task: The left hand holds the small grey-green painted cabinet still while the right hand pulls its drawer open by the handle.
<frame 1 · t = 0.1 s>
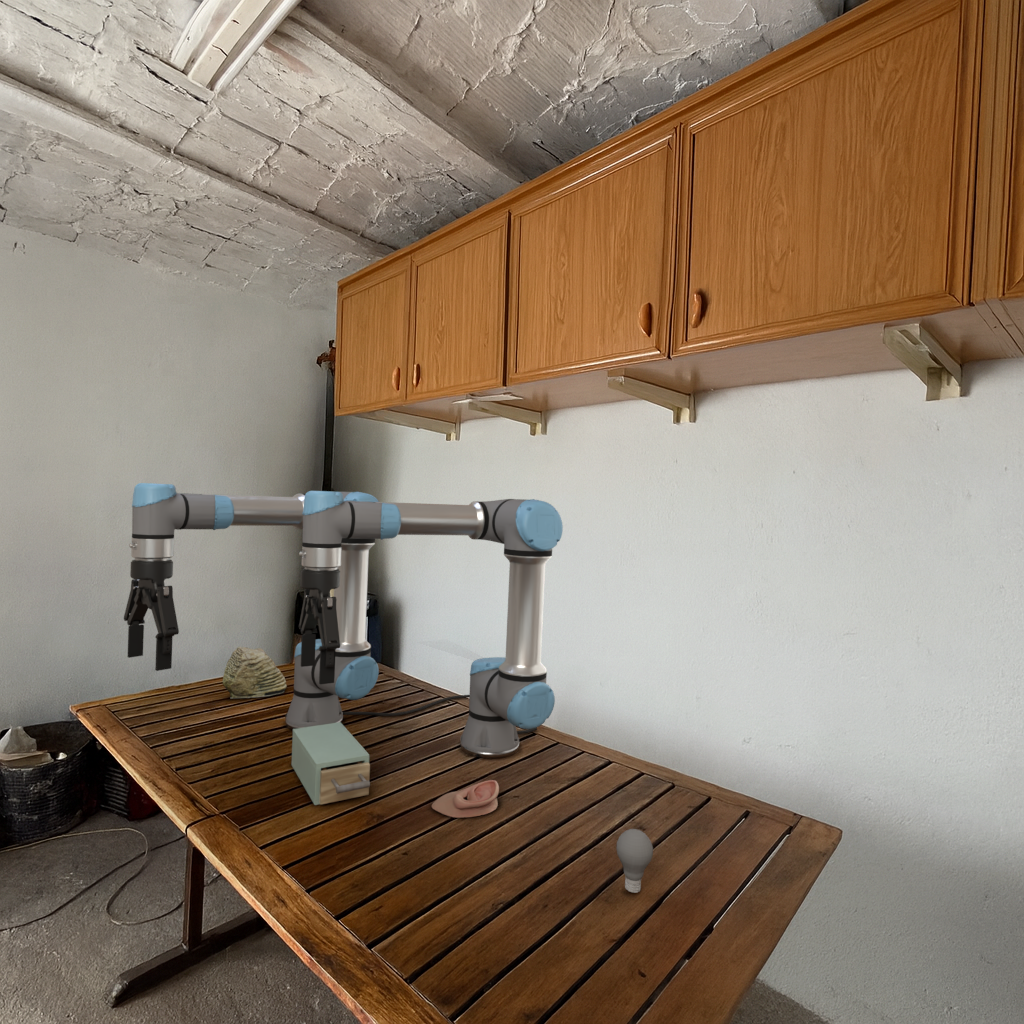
left hand: (148, 662, 129), 28 cm above the table, tool pointing down, fingers open, 13 cm apart
right hand: (316, 674, 127), 28 cm above the table, tool pointing down, fingers open, 13 cm apart
light bulb: (632, 891, 106), on the table
cabinet: (327, 779, 142), on the table
fossil: (254, 694, 198), on the table
anatomical model: (465, 806, 132), on the table
drawer: (335, 769, 137), point 4 cm above the table, slide at 1.1 cm
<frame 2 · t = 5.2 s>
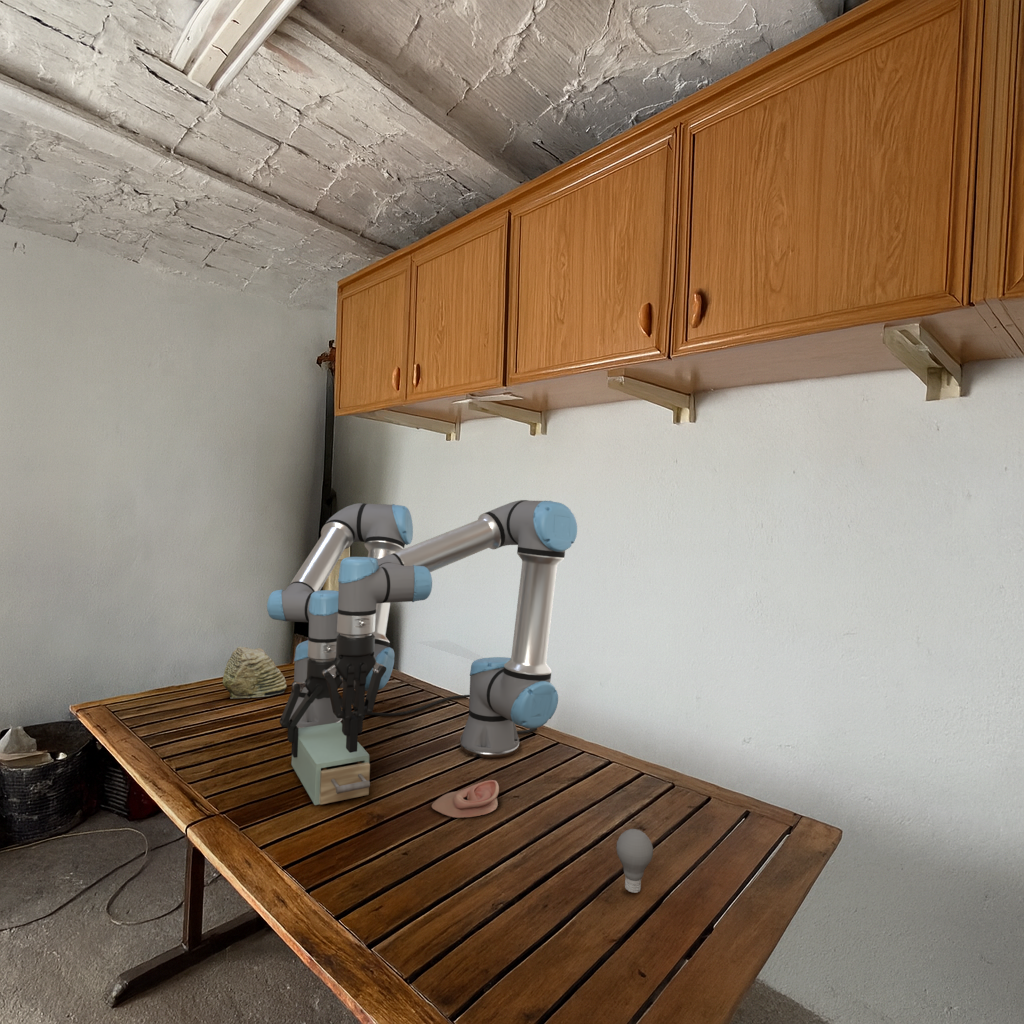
left hand: (320, 750, 148), 4 cm above the table, tool pointing down, fingers closed on cabinet, 11 cm apart
right hand: (351, 749, 128), 12 cm above the table, tool pointing down, fingers closed
cabinet: (327, 779, 142), on the table, touching left hand
everything else where it was.
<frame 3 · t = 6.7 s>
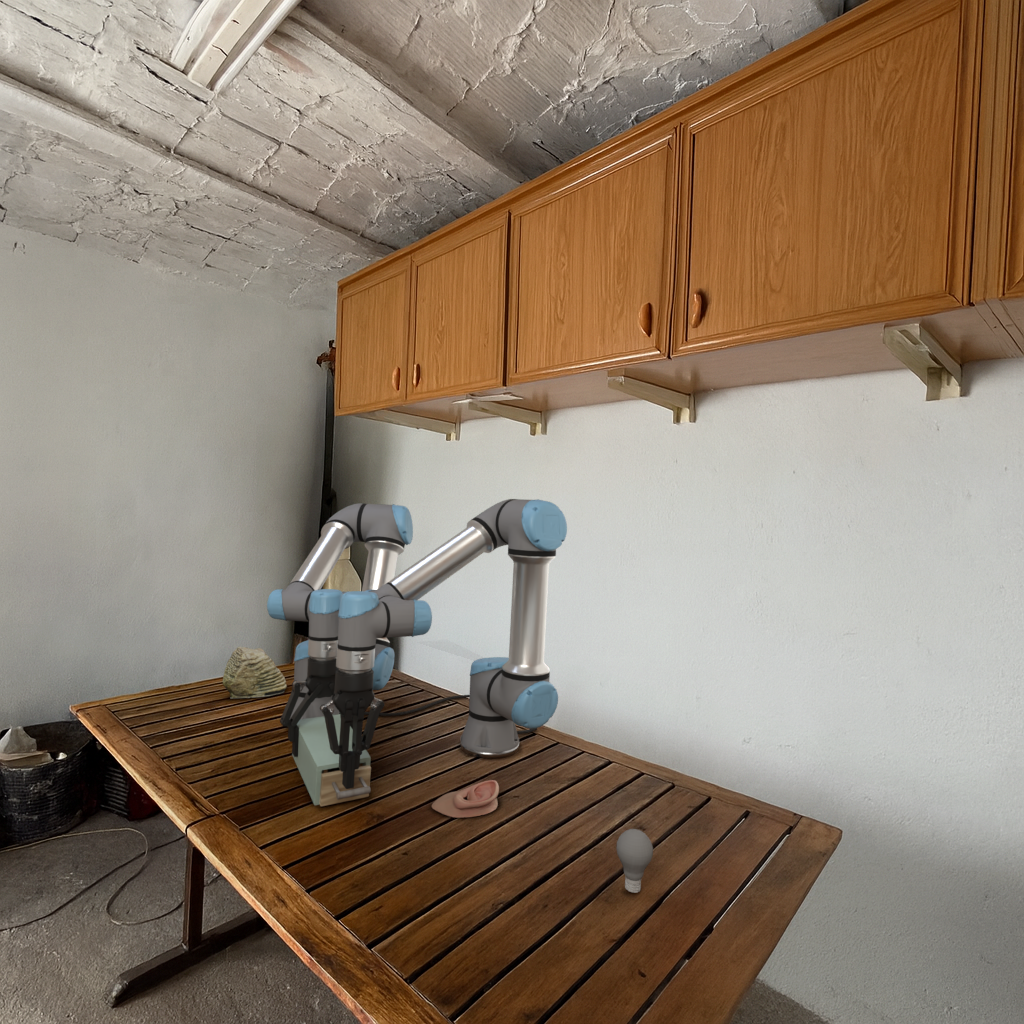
left hand: (321, 750, 147), 4 cm above the table, tool pointing down, fingers closed on cabinet, 11 cm apart
right hand: (347, 785, 128), 5 cm above the table, tool pointing down, fingers closed
cabinet: (328, 773, 142), point 1 cm above the table, tilted 7°, touching left hand
drawer: (336, 768, 137), point 5 cm above the table, slide at 1.2 cm, touching right hand
everything else where it was.
when the left hand's fingers open (4 cm above the table, at t = 9.9 s): cabinet drops 1 cm, on the table.
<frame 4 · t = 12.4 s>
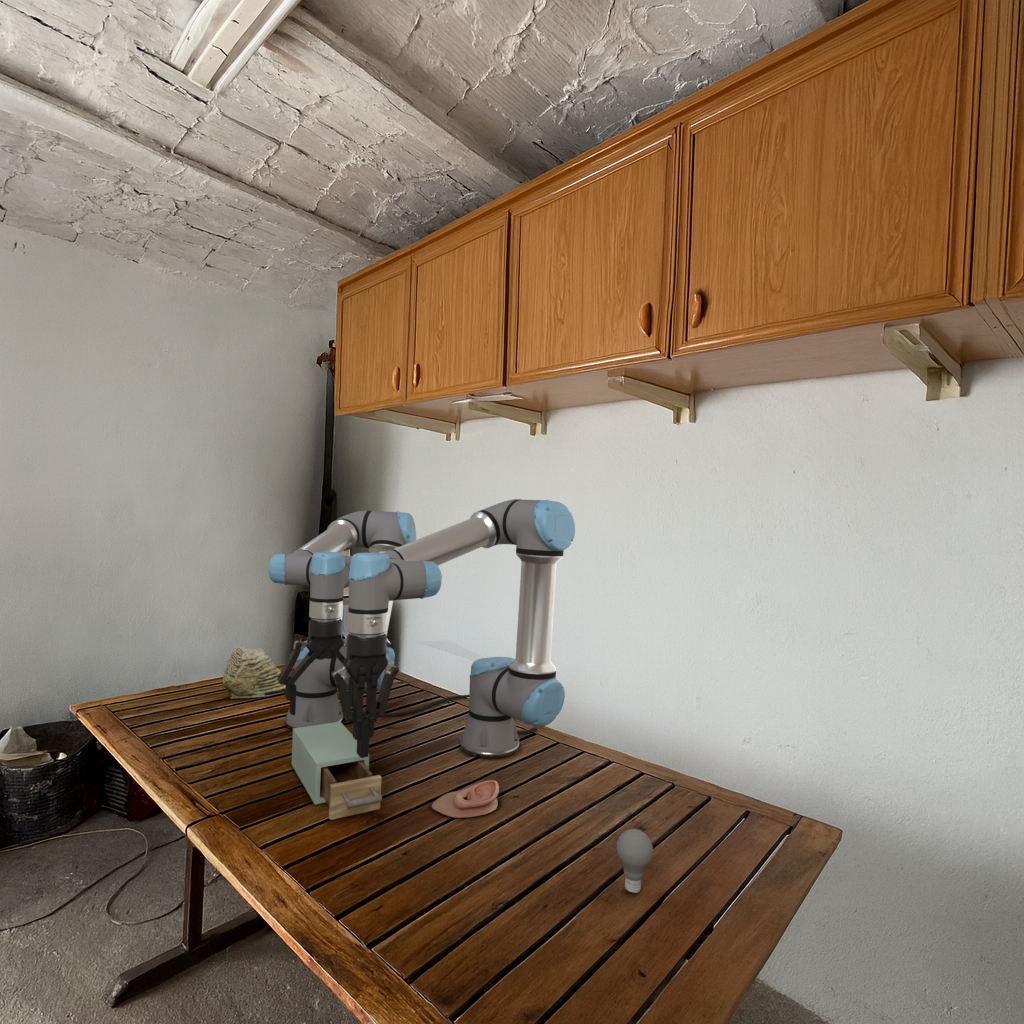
left hand: (322, 709, 148), 14 cm above the table, tool pointing down, fingers open, 13 cm apart
right hand: (362, 754, 122), 14 cm above the table, tool pointing down, fingers closed
cabinet: (327, 778, 142), on the table
drawer: (345, 782, 131), point 4 cm above the table, slide at 8.3 cm
everything else where it was.
at the end: drawer slide at 8.3 cm; cabinet tilted 0°; cabinet never tilted more than 7° during the clip; cabinet moved 0.3 cm from its start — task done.
